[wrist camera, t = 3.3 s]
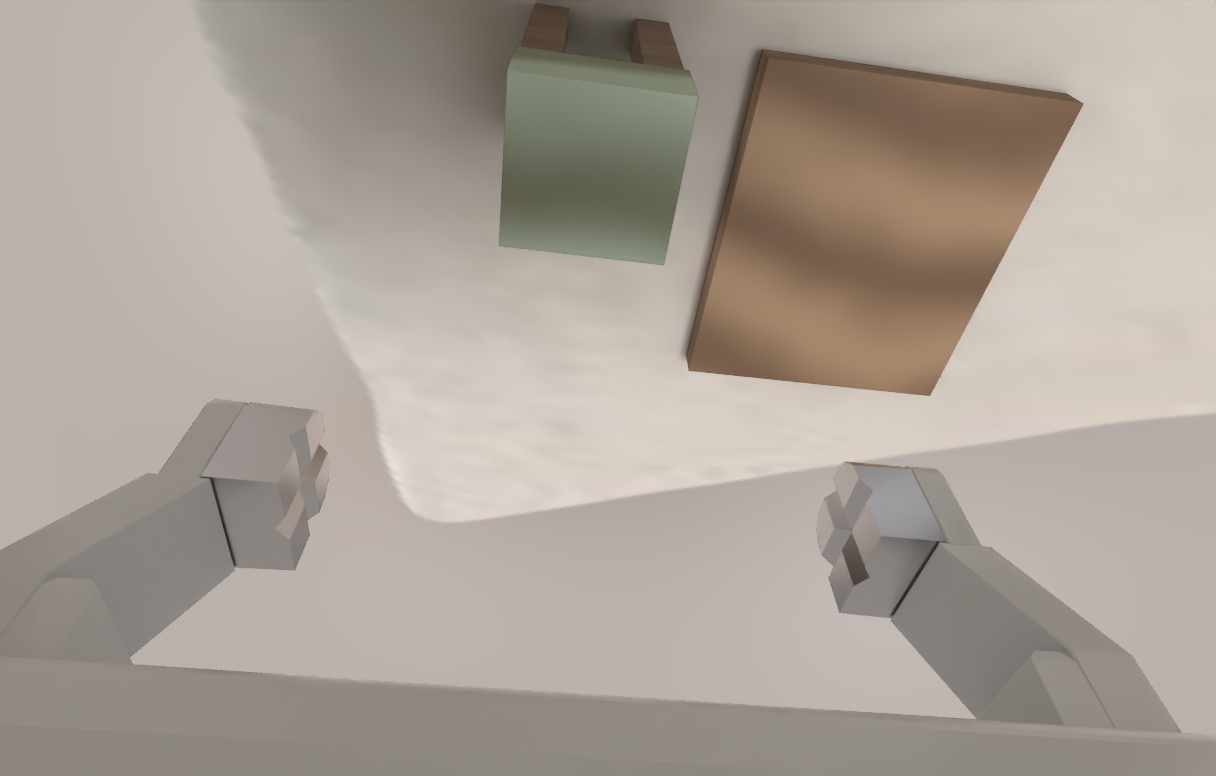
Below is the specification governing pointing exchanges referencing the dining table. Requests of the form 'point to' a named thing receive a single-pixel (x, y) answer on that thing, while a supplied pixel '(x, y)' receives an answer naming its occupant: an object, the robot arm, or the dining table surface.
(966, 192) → the walnut board
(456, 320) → the dining table surface
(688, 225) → the dining table surface
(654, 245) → the stool
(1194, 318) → the dining table surface
